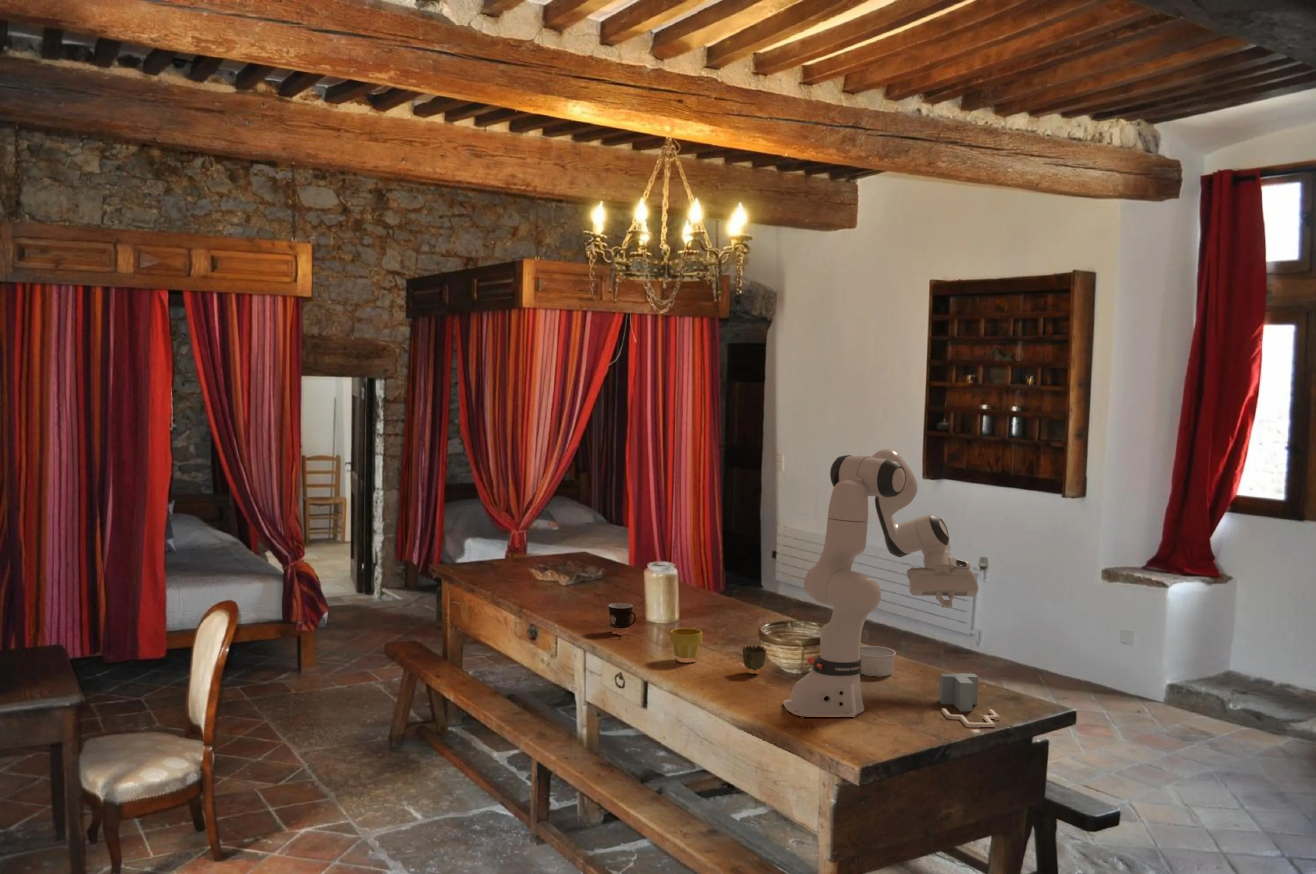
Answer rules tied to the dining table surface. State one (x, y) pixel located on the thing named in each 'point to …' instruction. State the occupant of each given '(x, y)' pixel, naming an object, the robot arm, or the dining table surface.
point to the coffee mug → (621, 615)
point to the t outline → (973, 724)
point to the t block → (958, 690)
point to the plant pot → (686, 642)
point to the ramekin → (877, 660)
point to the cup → (754, 657)
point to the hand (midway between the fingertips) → (947, 606)
